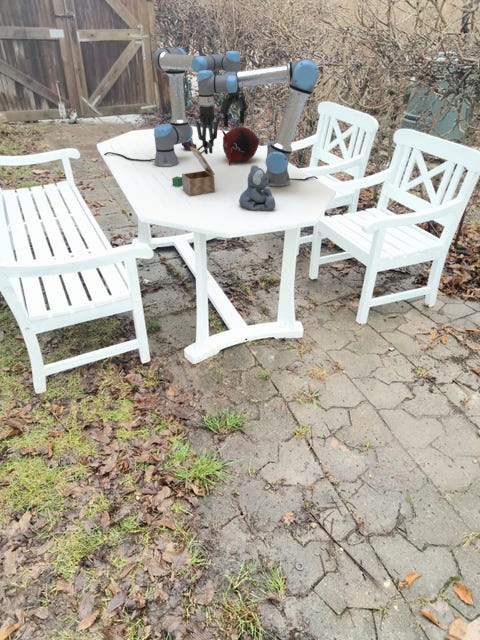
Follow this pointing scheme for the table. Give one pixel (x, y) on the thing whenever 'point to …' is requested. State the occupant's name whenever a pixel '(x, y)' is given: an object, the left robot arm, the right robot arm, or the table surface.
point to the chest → (198, 183)
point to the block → (177, 181)
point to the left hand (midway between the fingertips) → (234, 125)
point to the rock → (189, 144)
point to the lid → (201, 158)
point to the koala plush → (257, 191)
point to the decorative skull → (240, 144)
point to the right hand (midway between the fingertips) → (208, 153)
